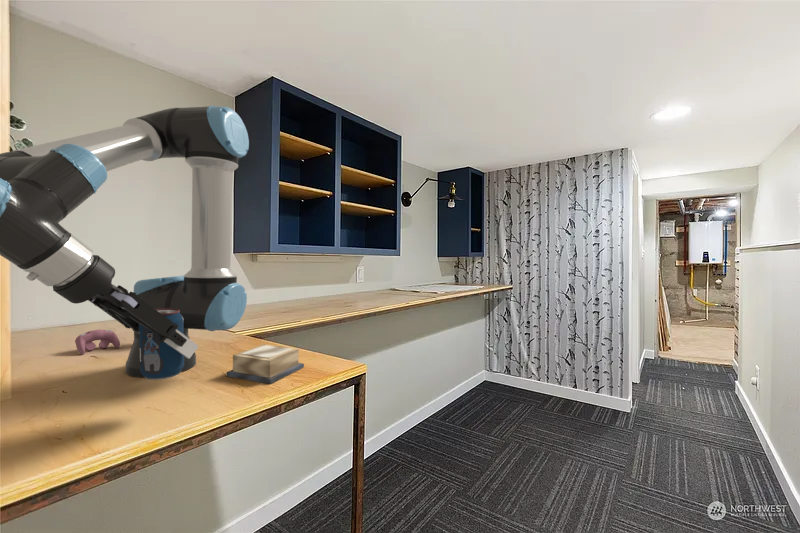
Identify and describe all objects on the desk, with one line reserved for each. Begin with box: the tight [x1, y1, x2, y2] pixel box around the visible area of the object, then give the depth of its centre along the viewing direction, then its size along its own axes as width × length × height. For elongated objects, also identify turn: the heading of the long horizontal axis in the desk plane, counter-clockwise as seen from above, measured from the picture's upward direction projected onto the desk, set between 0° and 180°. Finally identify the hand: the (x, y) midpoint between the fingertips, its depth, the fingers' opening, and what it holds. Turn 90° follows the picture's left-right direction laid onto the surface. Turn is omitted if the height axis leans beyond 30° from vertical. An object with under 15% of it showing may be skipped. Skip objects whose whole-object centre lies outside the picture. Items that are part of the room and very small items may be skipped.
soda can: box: [139, 308, 184, 381], centre depth 70 cm, size 7×7×12 cm
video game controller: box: [74, 329, 121, 355], centre depth 110 cm, size 10×5×7 cm, turn 145°
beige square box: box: [226, 343, 305, 385], centre depth 94 cm, size 13×13×5 cm
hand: (181, 348), depth 73 cm, fingers closed on soda can, 7 cm apart
